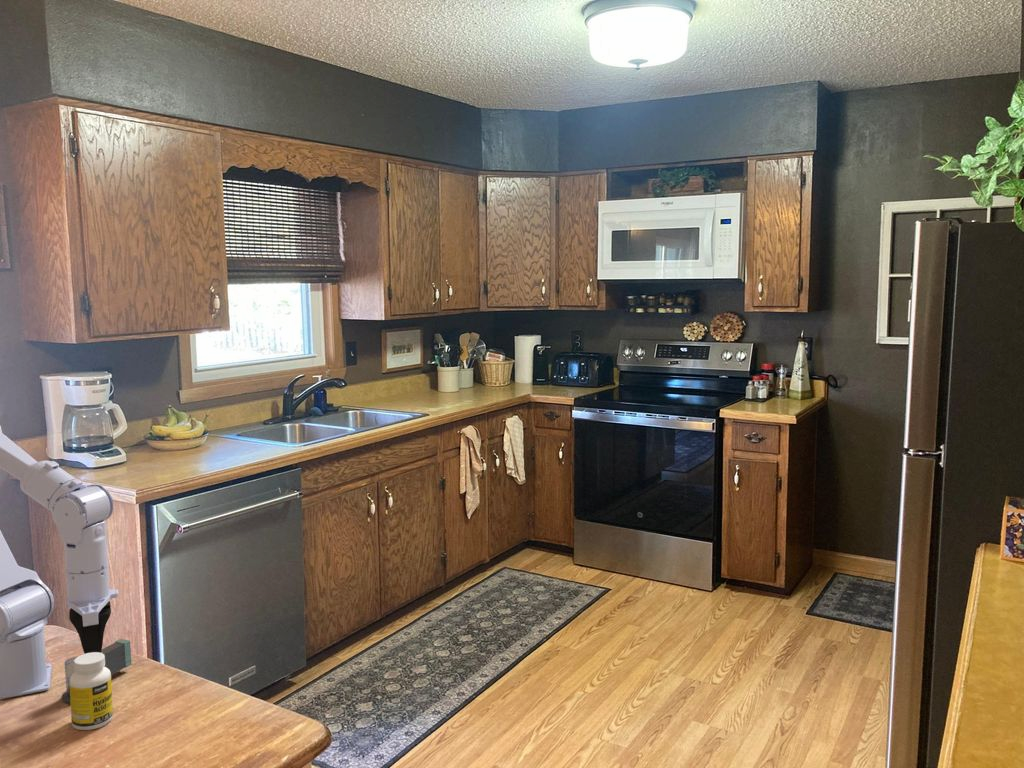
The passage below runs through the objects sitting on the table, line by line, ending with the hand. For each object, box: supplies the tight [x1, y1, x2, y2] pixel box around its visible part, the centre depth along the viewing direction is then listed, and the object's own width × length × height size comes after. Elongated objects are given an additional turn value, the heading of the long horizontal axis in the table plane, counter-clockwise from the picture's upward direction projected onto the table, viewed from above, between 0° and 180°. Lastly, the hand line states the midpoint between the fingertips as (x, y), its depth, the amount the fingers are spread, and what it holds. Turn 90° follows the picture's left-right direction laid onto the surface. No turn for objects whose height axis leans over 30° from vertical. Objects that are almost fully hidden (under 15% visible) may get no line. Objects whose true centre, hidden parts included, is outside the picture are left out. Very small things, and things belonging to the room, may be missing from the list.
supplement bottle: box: [70, 652, 114, 731], centre depth 122 cm, size 5×5×10 cm
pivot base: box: [61, 690, 71, 705], centre depth 130 cm, size 4×4×1 cm
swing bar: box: [64, 638, 133, 696], centre depth 133 cm, size 11×3×5 cm, turn 160°
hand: (93, 653), depth 128 cm, fingers closed
